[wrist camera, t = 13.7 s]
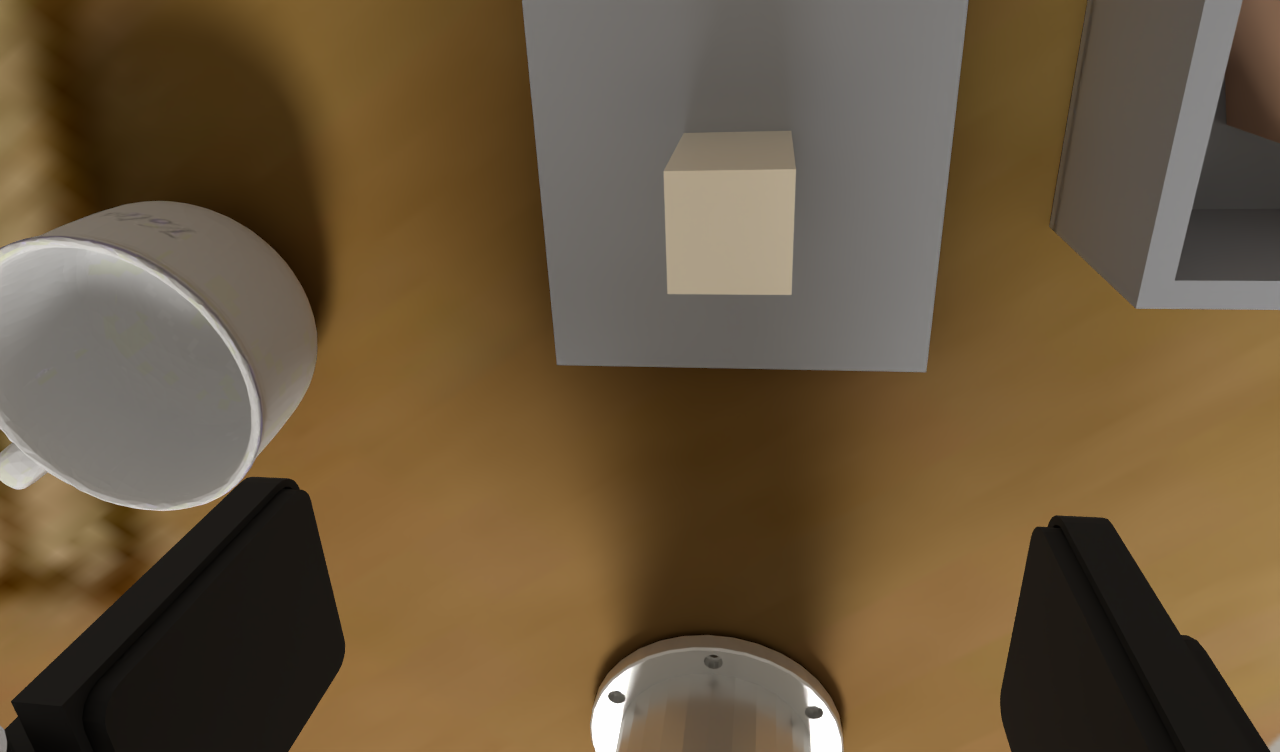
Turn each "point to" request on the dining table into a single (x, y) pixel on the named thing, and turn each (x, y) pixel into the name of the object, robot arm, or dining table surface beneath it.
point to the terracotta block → (1255, 70)
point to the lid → (744, 178)
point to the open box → (1167, 162)
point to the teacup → (148, 354)
